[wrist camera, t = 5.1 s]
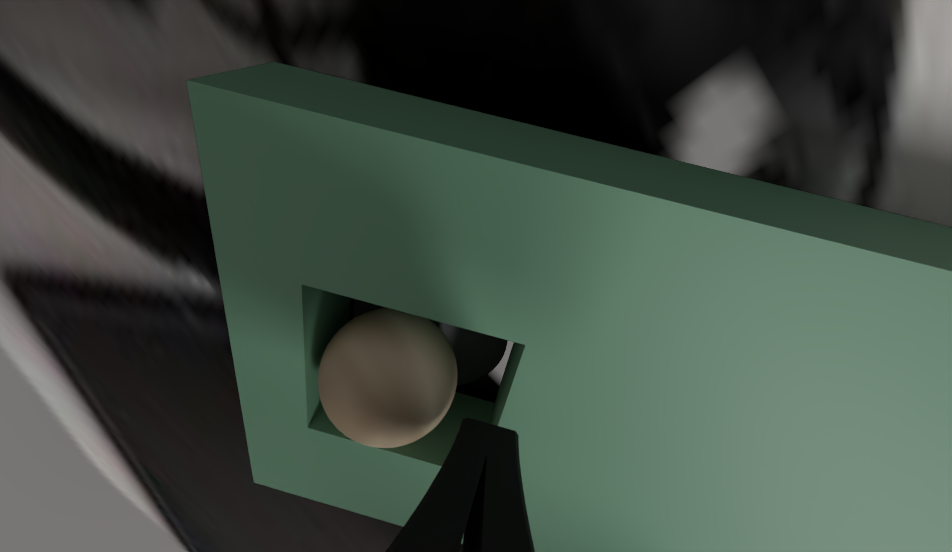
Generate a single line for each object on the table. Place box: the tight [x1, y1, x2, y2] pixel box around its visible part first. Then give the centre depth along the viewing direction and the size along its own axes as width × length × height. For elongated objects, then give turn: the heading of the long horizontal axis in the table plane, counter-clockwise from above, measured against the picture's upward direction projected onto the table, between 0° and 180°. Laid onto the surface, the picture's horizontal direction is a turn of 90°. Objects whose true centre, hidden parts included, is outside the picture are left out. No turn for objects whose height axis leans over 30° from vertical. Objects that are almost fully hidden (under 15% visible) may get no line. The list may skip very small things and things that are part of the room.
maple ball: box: [318, 308, 457, 448], centre depth 13 cm, size 4×4×4 cm
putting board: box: [186, 62, 952, 552], centre depth 13 cm, size 24×14×3 cm, turn 79°
